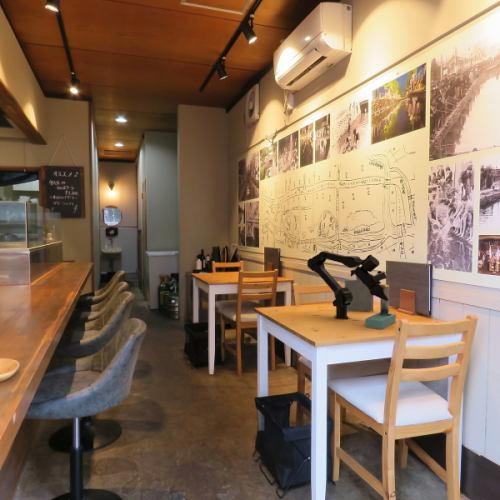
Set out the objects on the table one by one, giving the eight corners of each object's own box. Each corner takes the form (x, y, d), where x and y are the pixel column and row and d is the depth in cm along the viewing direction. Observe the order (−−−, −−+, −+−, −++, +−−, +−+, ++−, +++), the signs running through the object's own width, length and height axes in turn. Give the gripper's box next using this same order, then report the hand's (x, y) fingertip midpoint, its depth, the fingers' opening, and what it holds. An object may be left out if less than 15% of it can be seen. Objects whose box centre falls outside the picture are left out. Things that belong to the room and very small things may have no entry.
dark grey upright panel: (344, 310, 234) (344, 275, 233) (344, 309, 238) (344, 275, 237) (373, 311, 230) (373, 276, 229) (372, 310, 234) (373, 275, 233)
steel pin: (379, 311, 206) (380, 284, 205) (387, 312, 206) (388, 284, 205) (381, 313, 202) (381, 285, 201) (389, 313, 202) (390, 285, 201)
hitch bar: (380, 319, 210) (380, 311, 210) (395, 321, 206) (395, 313, 205) (365, 327, 194) (365, 318, 194) (382, 329, 190) (382, 321, 189)
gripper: (377, 267, 195) (401, 291, 192) (376, 264, 213) (398, 286, 210) (360, 283, 197) (383, 307, 195) (360, 278, 215) (382, 300, 213)
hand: (387, 299), depth 203 cm, fingers closed on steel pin, 4 cm apart
